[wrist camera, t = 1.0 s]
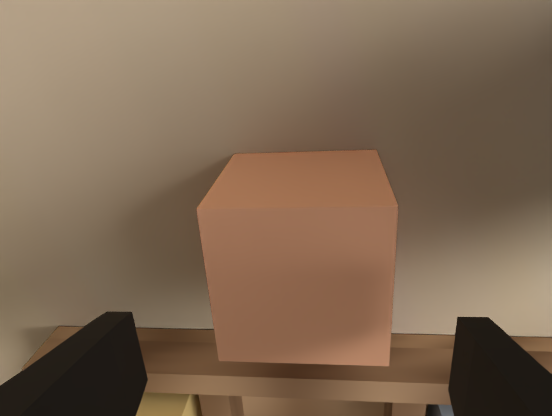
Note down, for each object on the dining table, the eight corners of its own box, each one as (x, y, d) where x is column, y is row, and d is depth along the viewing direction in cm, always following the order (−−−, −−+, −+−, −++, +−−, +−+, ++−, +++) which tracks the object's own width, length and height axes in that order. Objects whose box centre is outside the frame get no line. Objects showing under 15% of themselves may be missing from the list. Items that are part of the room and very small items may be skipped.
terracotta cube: (376, 148, 15) (398, 206, 10) (372, 272, 17) (389, 366, 12) (234, 153, 15) (196, 209, 11) (246, 271, 17) (218, 361, 13)
